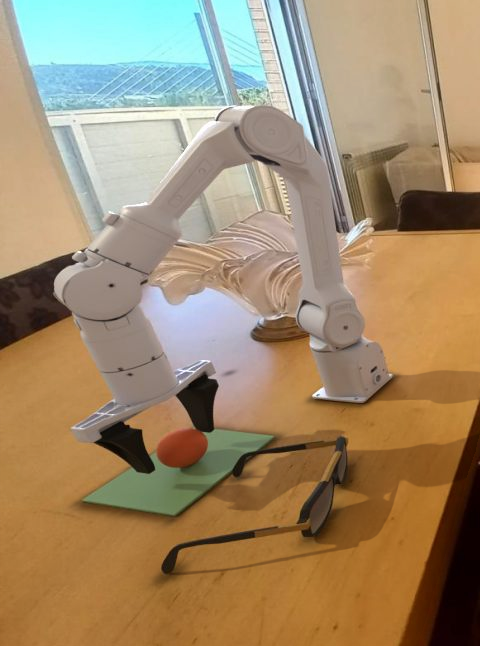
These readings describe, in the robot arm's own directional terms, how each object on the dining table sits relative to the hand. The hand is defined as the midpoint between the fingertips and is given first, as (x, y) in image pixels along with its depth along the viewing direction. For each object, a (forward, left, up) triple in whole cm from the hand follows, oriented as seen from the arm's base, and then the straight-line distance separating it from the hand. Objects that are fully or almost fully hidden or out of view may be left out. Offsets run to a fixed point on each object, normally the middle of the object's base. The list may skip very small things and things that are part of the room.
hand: (178, 449), depth 62 cm
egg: (0, 0, 0) cm, 1 cm away
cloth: (0, 0, -3) cm, 3 cm away
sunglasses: (-18, +4, -3) cm, 19 cm away
